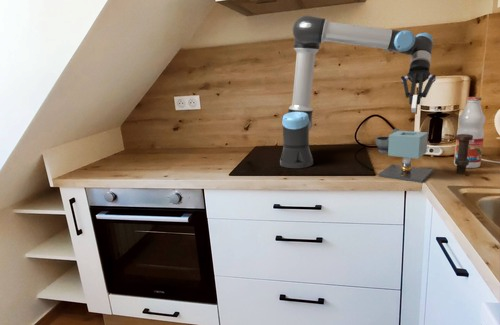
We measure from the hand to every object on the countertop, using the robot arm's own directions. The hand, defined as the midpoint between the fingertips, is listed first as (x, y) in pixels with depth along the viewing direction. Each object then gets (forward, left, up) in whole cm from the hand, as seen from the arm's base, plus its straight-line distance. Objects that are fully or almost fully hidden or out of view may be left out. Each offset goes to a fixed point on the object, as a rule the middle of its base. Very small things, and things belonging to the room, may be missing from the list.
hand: (413, 110), depth 133 cm
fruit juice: (+17, +20, -25) cm, 36 cm away
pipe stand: (0, -4, -25) cm, 25 cm away
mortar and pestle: (-19, +29, -25) cm, 43 cm away
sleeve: (0, -4, -17) cm, 17 cm away
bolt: (+17, +7, -25) cm, 31 cm away
